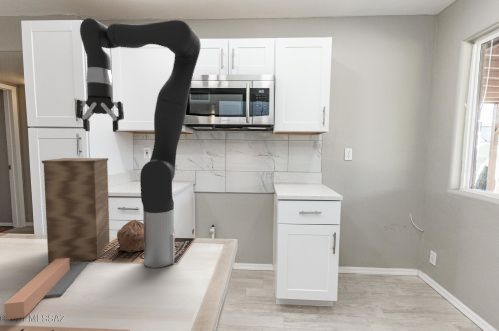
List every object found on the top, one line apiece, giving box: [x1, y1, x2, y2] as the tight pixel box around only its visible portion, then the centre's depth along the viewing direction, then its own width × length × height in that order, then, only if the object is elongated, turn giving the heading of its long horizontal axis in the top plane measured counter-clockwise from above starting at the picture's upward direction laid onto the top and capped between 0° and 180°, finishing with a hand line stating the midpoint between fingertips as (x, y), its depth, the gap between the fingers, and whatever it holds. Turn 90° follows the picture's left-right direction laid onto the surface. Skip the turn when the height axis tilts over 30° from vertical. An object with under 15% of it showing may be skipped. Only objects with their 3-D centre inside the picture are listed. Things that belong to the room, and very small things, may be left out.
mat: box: [42, 261, 89, 299], centre depth 73 cm, size 6×18×1 cm, turn 13°
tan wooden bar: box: [3, 258, 70, 320], centre depth 66 cm, size 4×22×4 cm, turn 14°
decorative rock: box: [116, 219, 144, 254], centre depth 94 cm, size 13×11×10 cm
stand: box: [41, 157, 111, 264], centre depth 89 cm, size 15×15×32 cm
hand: (101, 131), depth 90 cm, fingers open, 8 cm apart
